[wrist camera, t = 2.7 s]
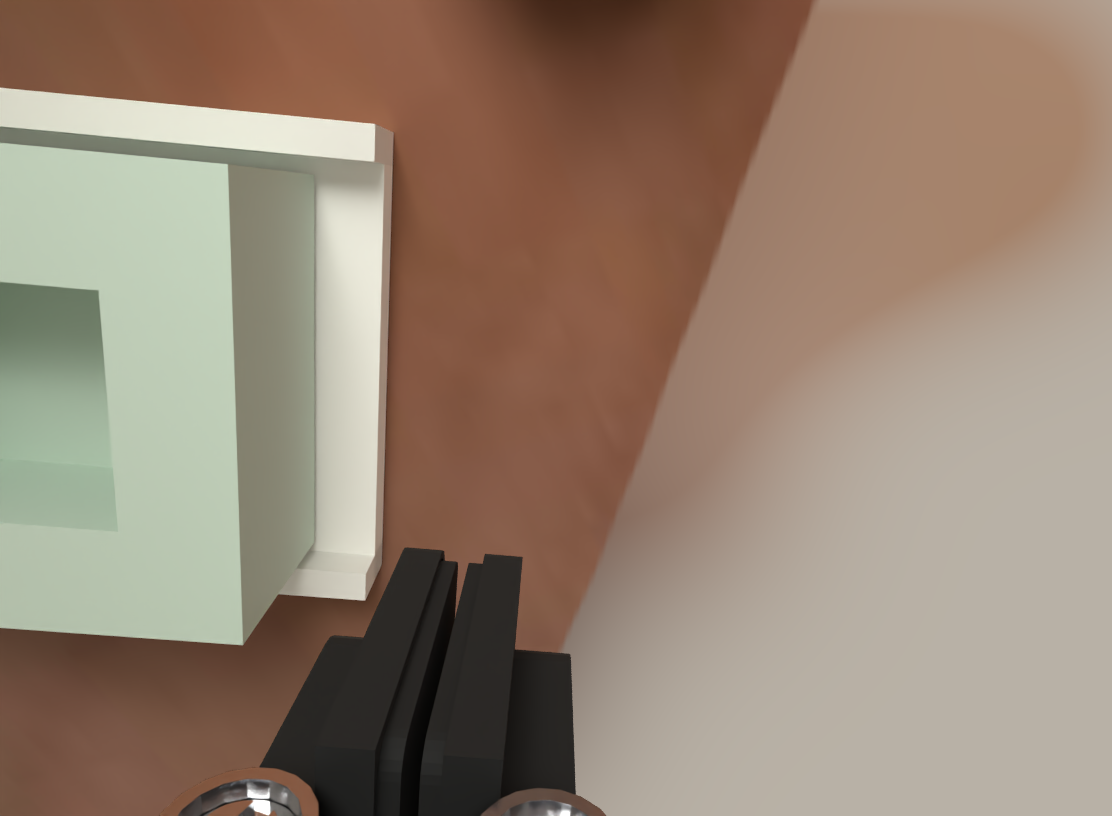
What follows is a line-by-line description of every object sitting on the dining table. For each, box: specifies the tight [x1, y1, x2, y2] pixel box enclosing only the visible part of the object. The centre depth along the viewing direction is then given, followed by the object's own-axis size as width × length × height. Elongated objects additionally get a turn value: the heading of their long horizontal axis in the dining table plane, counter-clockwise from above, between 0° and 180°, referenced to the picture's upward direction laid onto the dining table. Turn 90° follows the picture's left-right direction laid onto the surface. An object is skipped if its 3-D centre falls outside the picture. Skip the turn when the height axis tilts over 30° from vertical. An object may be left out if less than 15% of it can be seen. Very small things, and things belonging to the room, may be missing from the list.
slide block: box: [0, 143, 314, 645], centre depth 20 cm, size 12×12×6 cm
